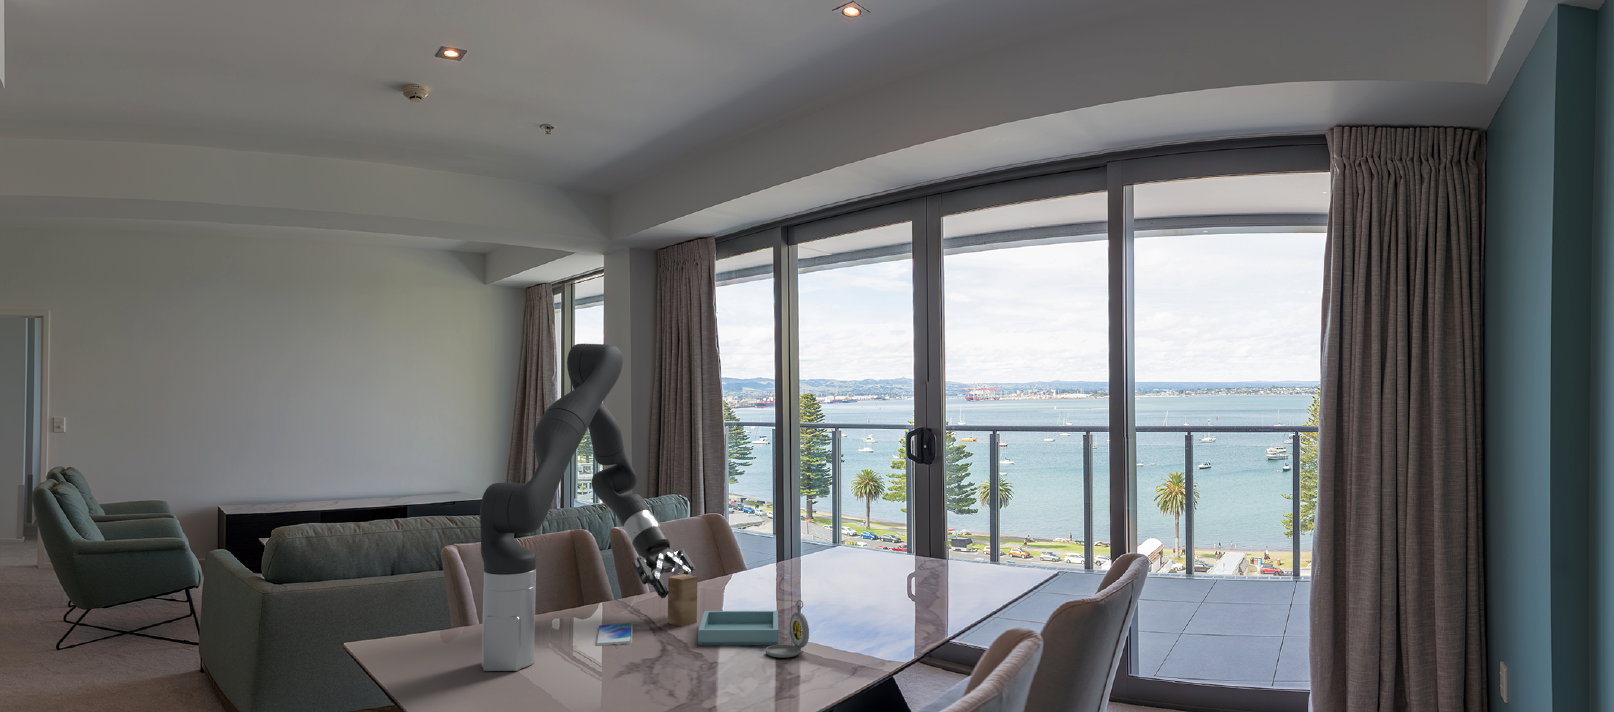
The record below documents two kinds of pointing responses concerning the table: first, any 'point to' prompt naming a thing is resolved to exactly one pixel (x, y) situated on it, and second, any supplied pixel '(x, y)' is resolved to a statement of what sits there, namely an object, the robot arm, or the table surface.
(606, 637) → the smartphone
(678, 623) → the walnut block
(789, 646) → the pocket watch
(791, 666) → the table surface
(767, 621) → the tray
